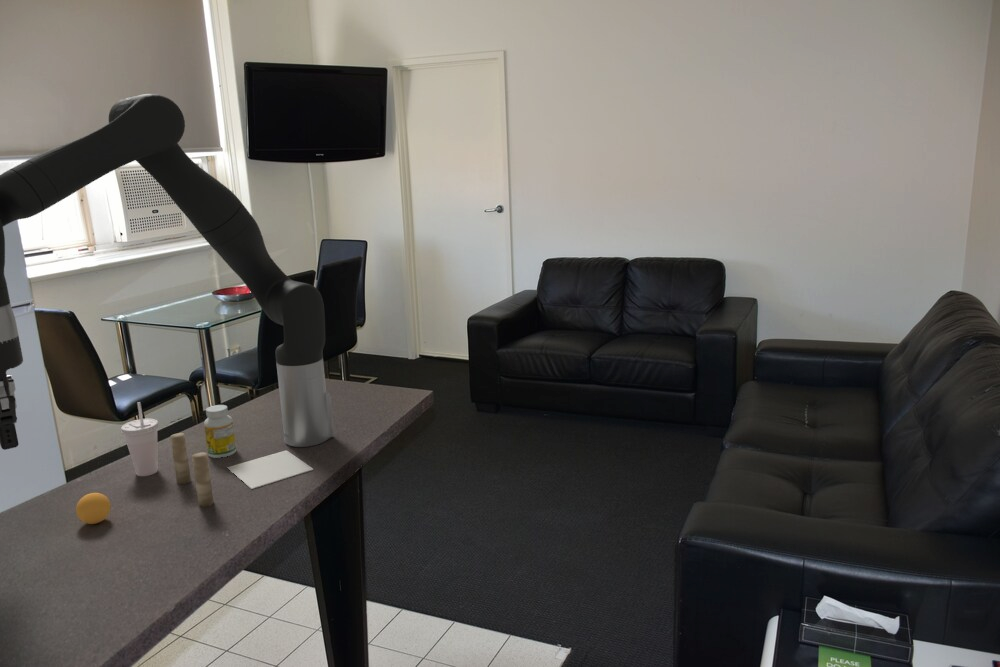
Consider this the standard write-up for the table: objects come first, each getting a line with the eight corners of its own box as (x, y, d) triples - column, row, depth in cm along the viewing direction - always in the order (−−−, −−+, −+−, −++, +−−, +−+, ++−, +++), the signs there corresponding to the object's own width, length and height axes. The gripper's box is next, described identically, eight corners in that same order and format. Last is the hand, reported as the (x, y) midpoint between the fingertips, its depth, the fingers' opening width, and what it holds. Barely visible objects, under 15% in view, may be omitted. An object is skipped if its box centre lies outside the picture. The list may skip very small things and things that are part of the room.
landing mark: (286, 451, 150) (286, 450, 150) (313, 469, 141) (313, 468, 141) (227, 468, 143) (226, 467, 143) (251, 489, 134) (251, 488, 134)
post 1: (188, 477, 140) (182, 432, 137) (192, 481, 138) (186, 435, 136) (175, 480, 138) (168, 435, 136) (179, 485, 136) (172, 439, 134)
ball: (108, 511, 127) (104, 484, 126) (116, 522, 123) (111, 494, 122) (75, 521, 124) (70, 493, 123) (82, 532, 120) (77, 504, 119)
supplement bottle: (237, 455, 149) (231, 410, 146) (208, 460, 147) (202, 414, 144) (235, 446, 153) (230, 401, 151) (207, 450, 152) (201, 406, 149)
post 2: (210, 499, 131) (204, 451, 128) (215, 503, 129) (209, 455, 127) (196, 503, 129) (189, 455, 127) (201, 508, 127) (194, 459, 125)
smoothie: (151, 480, 139) (140, 409, 135) (120, 478, 140) (109, 407, 136) (172, 466, 145) (162, 397, 141) (143, 463, 146) (132, 395, 142)
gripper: (25, 340, 107) (46, 453, 111) (11, 324, 117) (31, 428, 121) (-39, 350, 102) (-15, 467, 107) (-48, 333, 112) (-25, 441, 116)
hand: (9, 446), depth 114 cm, fingers closed
